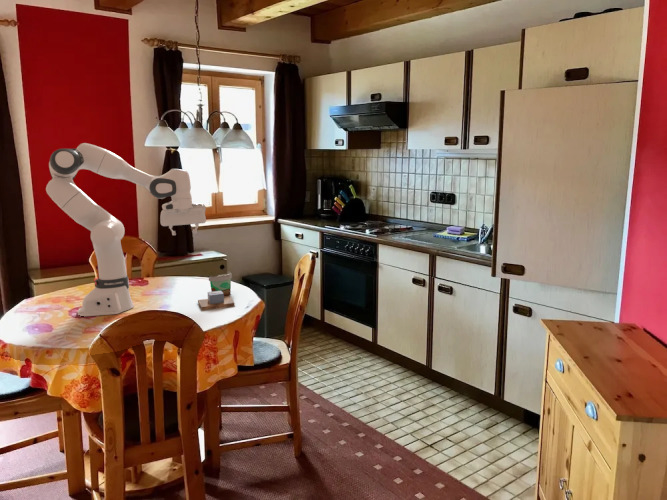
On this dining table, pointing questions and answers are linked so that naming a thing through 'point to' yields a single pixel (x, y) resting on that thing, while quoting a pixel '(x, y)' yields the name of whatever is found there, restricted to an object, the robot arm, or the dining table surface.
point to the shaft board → (206, 305)
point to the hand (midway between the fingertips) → (184, 234)
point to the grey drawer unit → (215, 297)
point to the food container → (221, 283)
